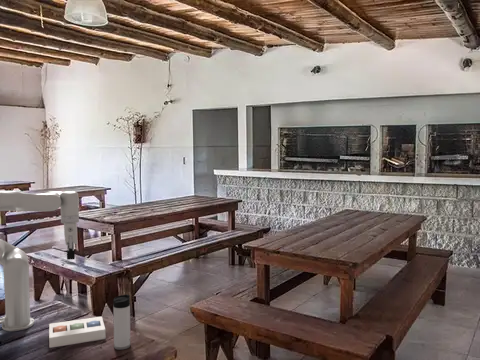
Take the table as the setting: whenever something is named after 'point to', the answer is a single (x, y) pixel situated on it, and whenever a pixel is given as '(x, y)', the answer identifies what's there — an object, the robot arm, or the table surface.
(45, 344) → the table surface
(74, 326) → the sage button
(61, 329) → the terracotta button
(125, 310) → the travel mug
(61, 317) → the table surface
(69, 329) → the button box
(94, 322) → the slate button
